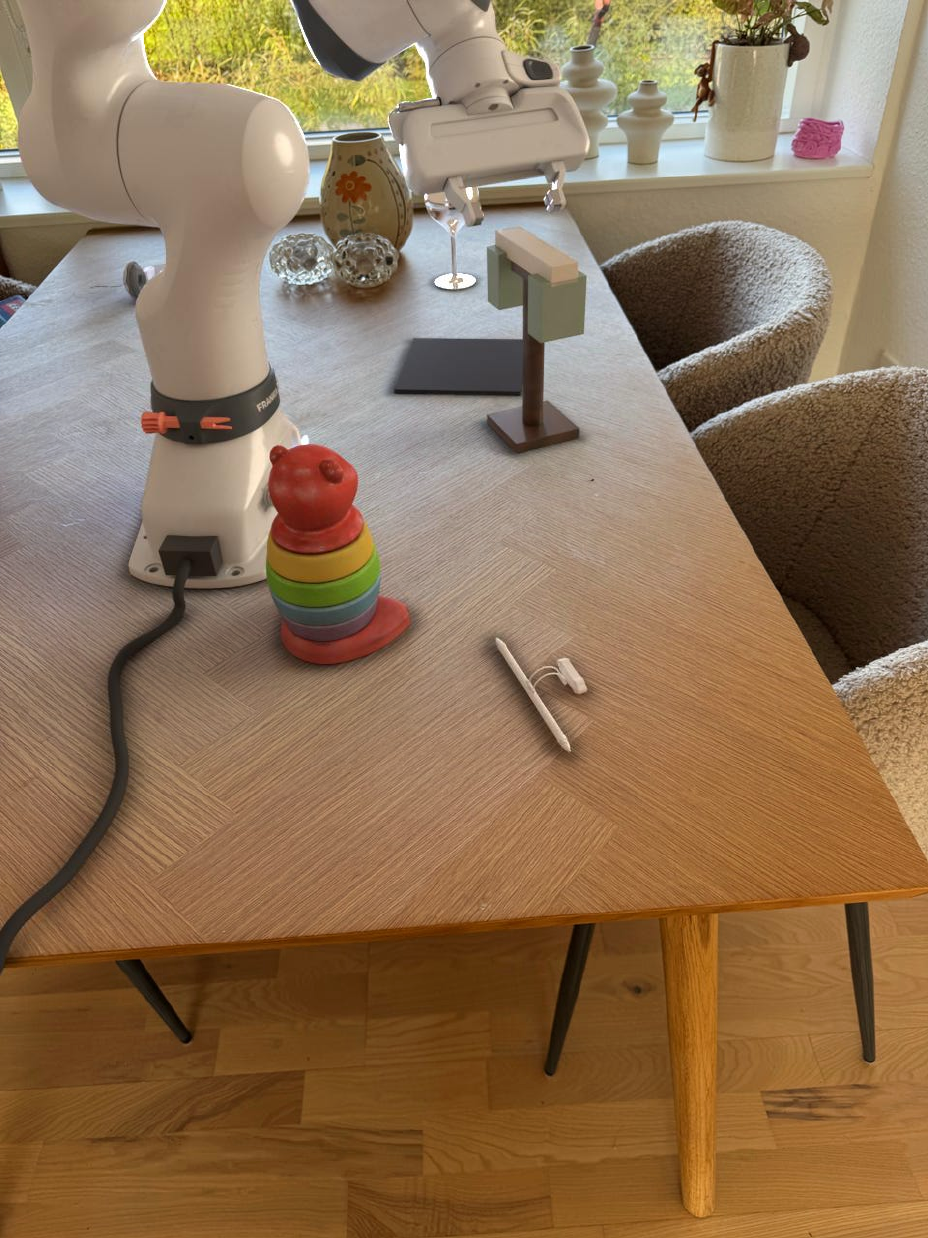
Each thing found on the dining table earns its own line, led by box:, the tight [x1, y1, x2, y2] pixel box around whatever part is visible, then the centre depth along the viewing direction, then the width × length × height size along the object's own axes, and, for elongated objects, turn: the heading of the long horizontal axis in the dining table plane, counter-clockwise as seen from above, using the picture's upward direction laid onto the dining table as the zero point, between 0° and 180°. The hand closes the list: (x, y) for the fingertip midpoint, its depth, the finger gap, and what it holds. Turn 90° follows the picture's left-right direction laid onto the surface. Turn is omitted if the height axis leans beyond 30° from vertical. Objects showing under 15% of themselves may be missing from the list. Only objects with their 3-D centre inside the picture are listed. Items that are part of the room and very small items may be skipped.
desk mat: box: [393, 337, 523, 396], centre depth 121 cm, size 16×16×1 cm
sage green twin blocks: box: [486, 225, 588, 343], centre depth 97 cm, size 5×13×8 cm, turn 23°
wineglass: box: [423, 186, 480, 291], centre depth 140 cm, size 8×8×18 cm
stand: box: [486, 261, 581, 454], centre depth 101 cm, size 8×8×19 cm
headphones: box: [89, 260, 166, 301], centre depth 145 cm, size 17×6×20 cm
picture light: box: [494, 637, 588, 753], centre depth 74 cm, size 14×4×2 cm, turn 21°
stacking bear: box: [266, 443, 411, 665], centre depth 75 cm, size 11×10×18 cm
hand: (517, 216), depth 96 cm, fingers open, 8 cm apart
